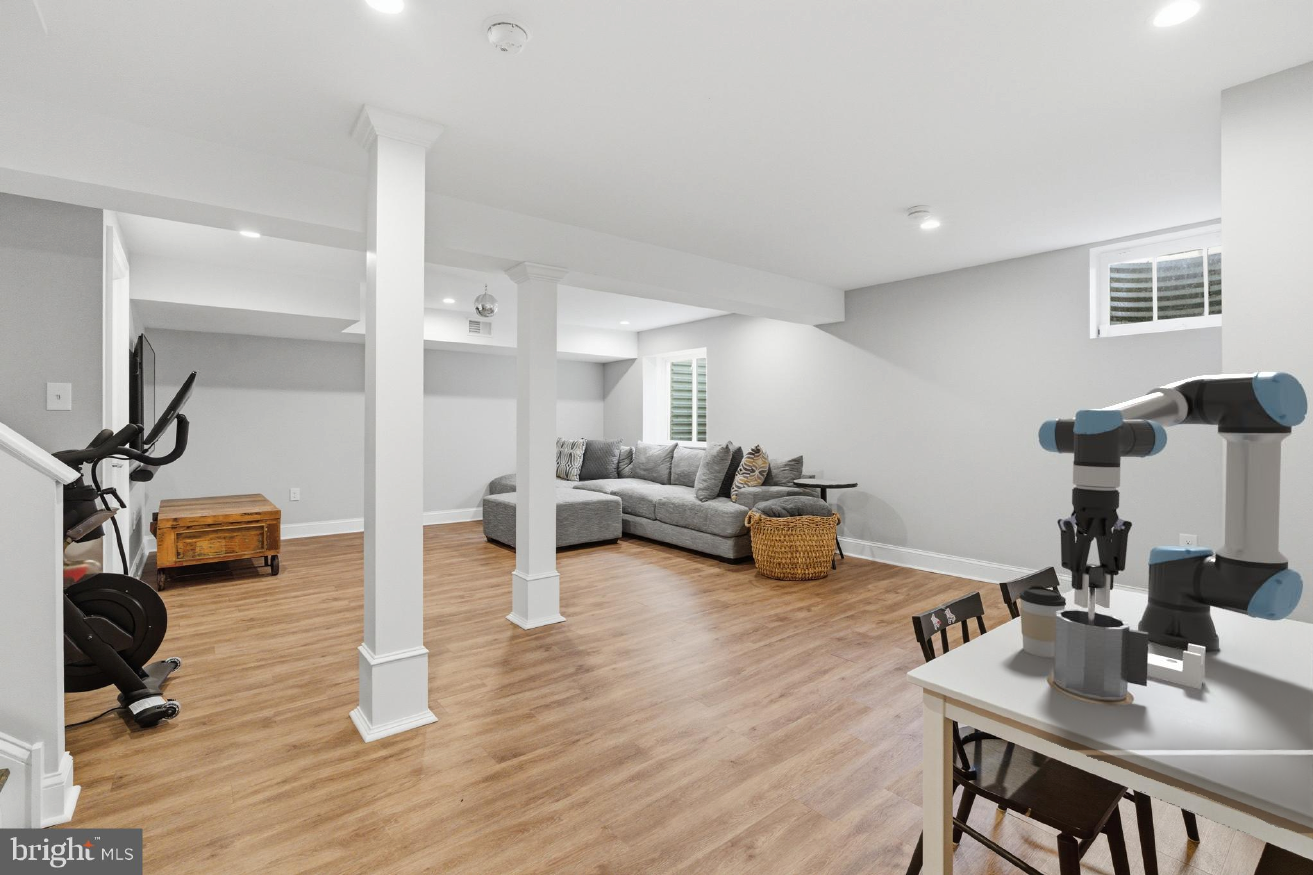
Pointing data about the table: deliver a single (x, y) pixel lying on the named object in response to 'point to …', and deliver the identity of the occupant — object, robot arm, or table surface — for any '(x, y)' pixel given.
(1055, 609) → the coffee cup
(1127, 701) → the trivet
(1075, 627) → the grey hollow faceted piece
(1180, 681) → the bracket
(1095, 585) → the plunger
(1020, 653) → the table surface
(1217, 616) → the table surface
